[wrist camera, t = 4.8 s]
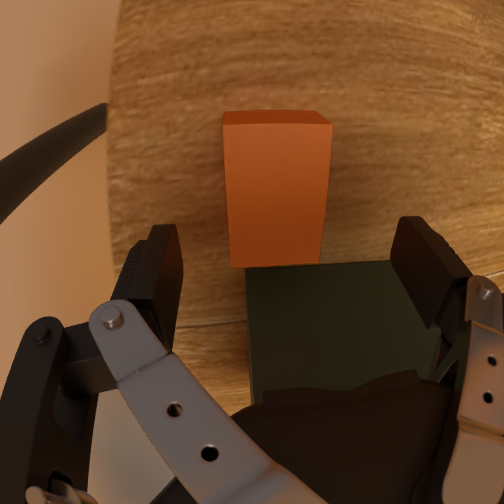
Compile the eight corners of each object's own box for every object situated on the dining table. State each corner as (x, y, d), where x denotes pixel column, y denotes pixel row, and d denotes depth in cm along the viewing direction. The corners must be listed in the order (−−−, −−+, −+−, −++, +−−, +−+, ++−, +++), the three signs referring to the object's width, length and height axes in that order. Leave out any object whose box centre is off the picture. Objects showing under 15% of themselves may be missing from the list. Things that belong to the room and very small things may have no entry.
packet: (230, 235, 18) (231, 268, 15) (224, 111, 14) (222, 124, 11) (307, 231, 18) (319, 263, 16) (315, 111, 14) (333, 124, 11)
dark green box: (249, 372, 26) (256, 472, 19) (244, 268, 19) (254, 412, 12) (384, 356, 27) (414, 443, 19) (427, 257, 20) (493, 361, 12)
